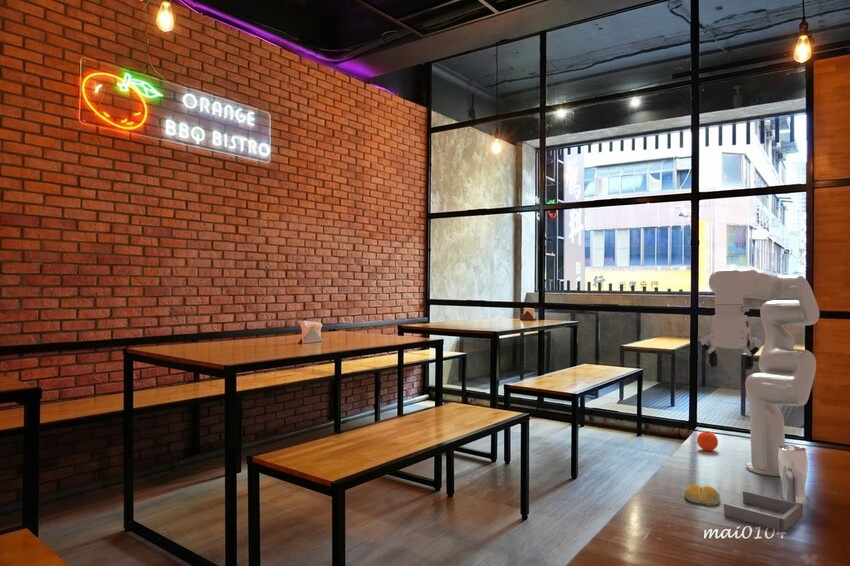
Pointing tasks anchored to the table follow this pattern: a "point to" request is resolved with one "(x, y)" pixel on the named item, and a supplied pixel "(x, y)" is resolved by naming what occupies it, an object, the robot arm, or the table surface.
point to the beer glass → (793, 472)
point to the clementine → (707, 441)
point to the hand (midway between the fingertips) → (731, 367)
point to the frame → (779, 523)
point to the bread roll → (702, 495)
